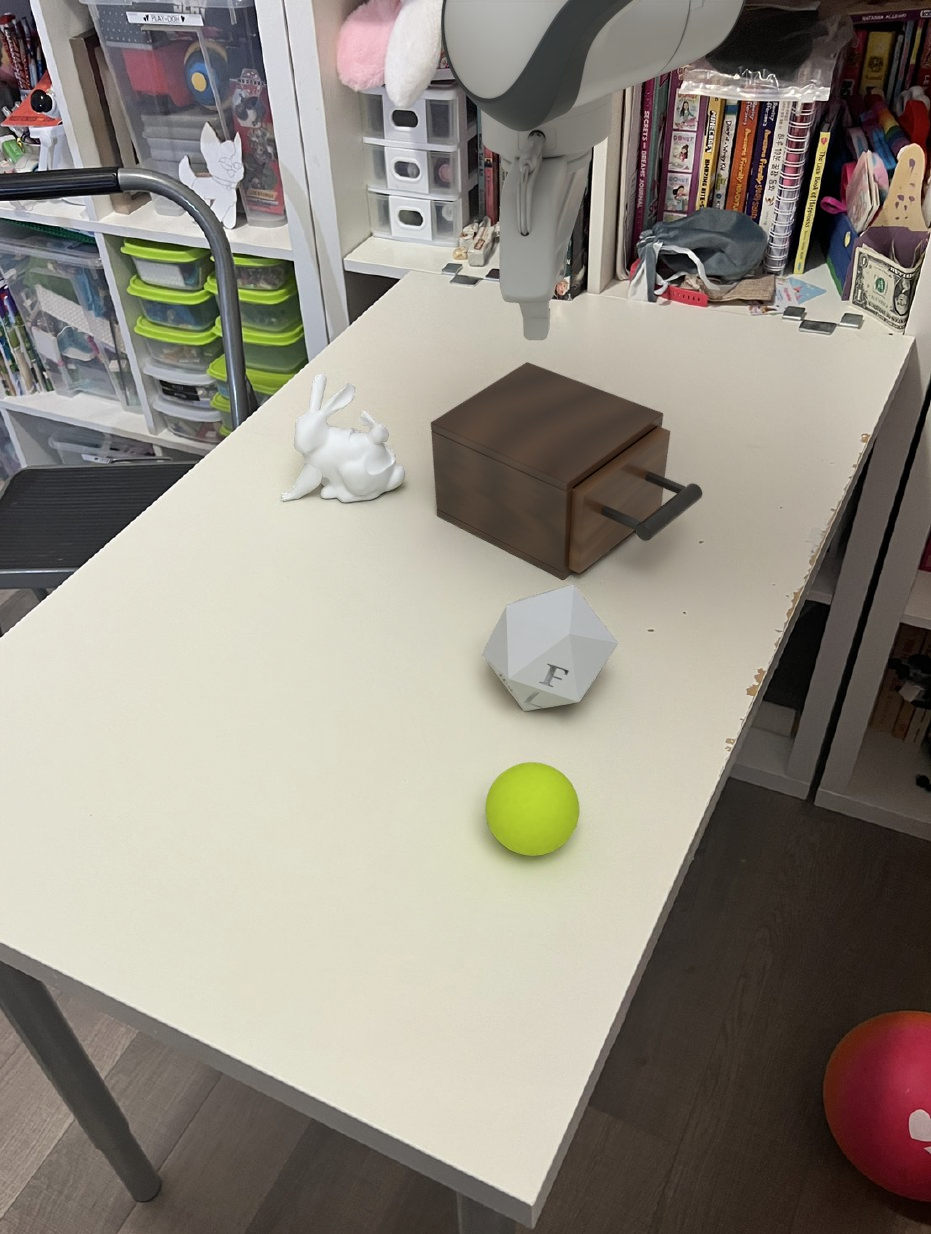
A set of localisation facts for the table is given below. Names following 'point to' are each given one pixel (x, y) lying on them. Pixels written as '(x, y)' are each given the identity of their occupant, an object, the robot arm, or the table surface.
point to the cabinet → (528, 458)
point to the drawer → (625, 500)
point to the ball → (532, 809)
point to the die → (549, 648)
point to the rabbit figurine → (342, 452)
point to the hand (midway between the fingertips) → (545, 306)
